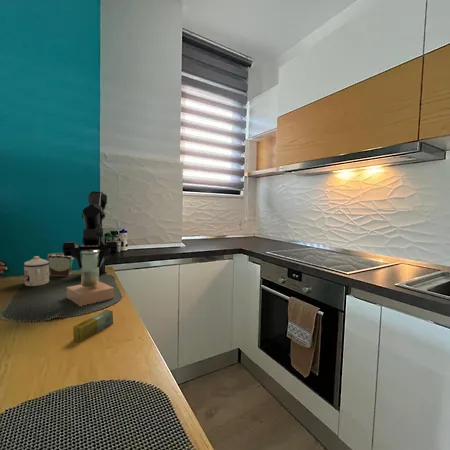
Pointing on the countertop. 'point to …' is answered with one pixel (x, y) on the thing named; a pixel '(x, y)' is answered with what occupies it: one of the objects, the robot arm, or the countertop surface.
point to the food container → (60, 264)
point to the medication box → (93, 325)
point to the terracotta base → (90, 293)
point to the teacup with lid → (36, 272)
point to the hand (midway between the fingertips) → (89, 267)
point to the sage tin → (89, 267)
